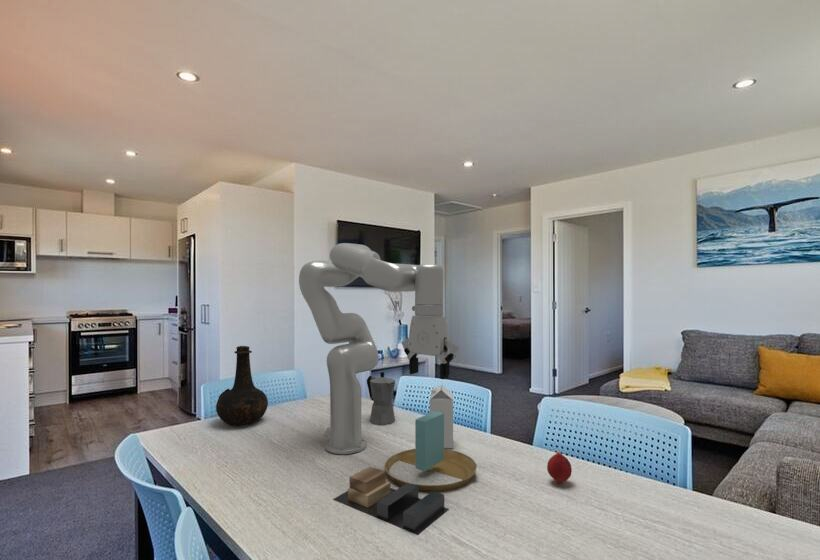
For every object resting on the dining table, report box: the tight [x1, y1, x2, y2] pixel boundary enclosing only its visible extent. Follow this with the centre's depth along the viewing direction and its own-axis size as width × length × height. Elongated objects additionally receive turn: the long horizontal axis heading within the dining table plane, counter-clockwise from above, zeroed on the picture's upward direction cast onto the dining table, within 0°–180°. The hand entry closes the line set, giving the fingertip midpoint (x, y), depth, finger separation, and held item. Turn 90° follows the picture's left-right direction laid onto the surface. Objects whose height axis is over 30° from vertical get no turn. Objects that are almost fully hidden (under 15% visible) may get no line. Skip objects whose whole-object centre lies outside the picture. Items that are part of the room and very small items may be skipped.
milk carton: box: [429, 381, 454, 449], centre depth 135 cm, size 7×7×19 cm
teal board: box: [414, 411, 445, 472], centre depth 113 cm, size 3×9×12 cm, turn 143°
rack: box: [332, 482, 450, 536], centre depth 96 cm, size 24×12×4 cm, turn 54°
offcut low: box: [347, 480, 391, 507], centre depth 100 cm, size 6×8×2 cm
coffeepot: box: [366, 371, 396, 426], centre depth 159 cm, size 15×9×18 cm, turn 44°
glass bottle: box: [215, 345, 269, 427], centre depth 157 cm, size 18×18×28 cm
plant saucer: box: [384, 448, 478, 492], centre depth 113 cm, size 24×24×3 cm
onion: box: [546, 450, 573, 484], centre depth 108 cm, size 6×6×8 cm
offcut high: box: [349, 466, 387, 494], centre depth 100 cm, size 5×7×2 cm
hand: (428, 375), depth 114 cm, fingers open, 9 cm apart
